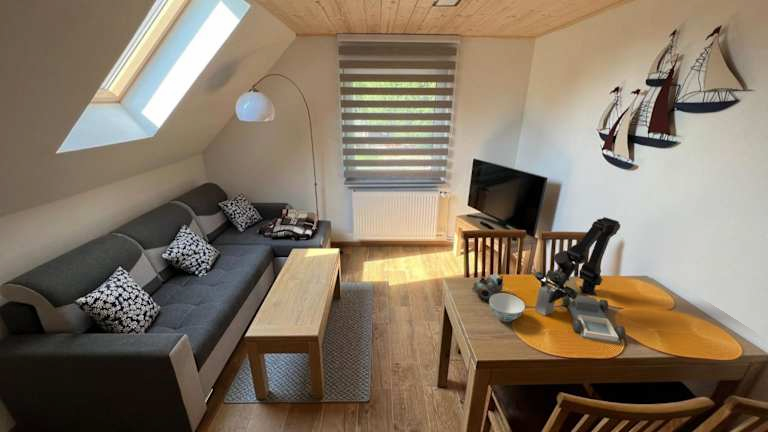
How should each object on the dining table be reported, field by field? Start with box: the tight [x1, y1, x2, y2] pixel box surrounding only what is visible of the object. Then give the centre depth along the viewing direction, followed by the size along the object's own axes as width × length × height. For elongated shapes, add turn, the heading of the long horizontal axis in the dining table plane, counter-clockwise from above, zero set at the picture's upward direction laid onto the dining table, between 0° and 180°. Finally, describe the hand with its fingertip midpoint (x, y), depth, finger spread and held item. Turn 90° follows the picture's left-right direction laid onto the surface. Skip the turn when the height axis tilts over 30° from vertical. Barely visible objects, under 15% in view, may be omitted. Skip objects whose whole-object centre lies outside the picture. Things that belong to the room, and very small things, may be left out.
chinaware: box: [488, 292, 526, 323], centre depth 148 cm, size 15×15×8 cm
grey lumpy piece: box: [471, 273, 505, 301], centre depth 165 cm, size 15×12×14 cm
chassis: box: [561, 294, 626, 344], centre depth 147 cm, size 27×18×5 cm, turn 165°
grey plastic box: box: [535, 284, 557, 317], centre depth 152 cm, size 6×5×12 cm
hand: (544, 299), depth 151 cm, fingers closed on grey plastic box, 5 cm apart
